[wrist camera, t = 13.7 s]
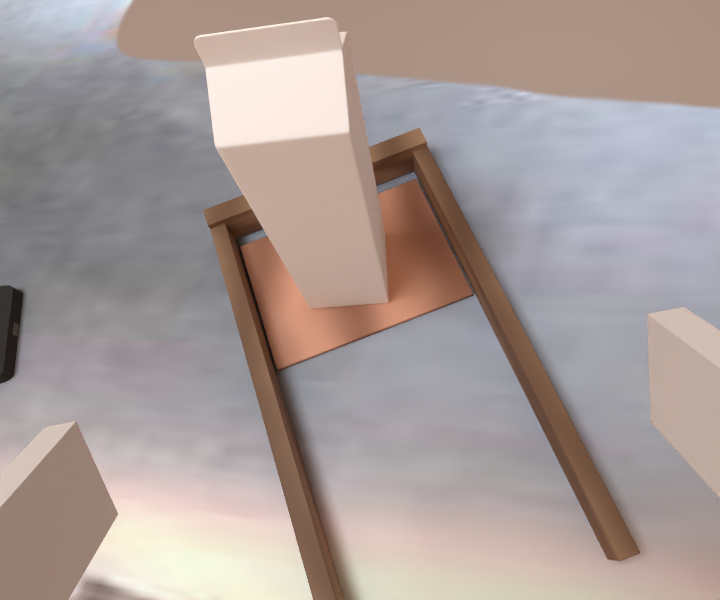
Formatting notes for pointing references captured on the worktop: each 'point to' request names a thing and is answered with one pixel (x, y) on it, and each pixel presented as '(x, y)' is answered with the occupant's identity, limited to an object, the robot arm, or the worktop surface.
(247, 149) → the milk
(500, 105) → the worktop surface
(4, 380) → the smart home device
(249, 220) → the bay
